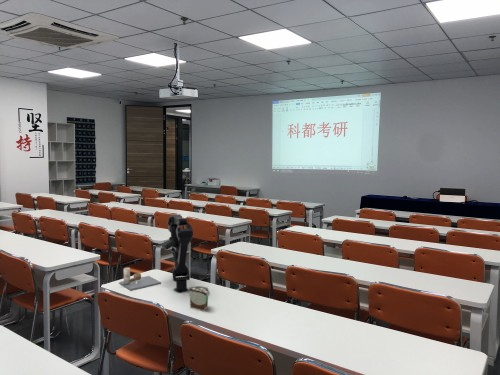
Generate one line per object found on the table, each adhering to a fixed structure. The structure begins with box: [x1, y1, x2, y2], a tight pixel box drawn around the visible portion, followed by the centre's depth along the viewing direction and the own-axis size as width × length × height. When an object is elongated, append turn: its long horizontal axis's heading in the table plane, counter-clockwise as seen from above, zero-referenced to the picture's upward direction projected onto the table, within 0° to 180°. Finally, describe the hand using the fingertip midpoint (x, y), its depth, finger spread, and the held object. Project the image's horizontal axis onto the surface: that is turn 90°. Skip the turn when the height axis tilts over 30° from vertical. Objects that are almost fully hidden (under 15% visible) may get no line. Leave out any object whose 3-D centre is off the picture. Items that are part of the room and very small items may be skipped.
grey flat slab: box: [118, 275, 162, 292], centre depth 231 cm, size 16×19×1 cm
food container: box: [187, 285, 211, 312], centre depth 196 cm, size 12×6×10 cm, turn 58°
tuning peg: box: [123, 267, 142, 284], centre depth 231 cm, size 13×4×9 cm, turn 156°
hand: (175, 260), depth 234 cm, fingers closed
